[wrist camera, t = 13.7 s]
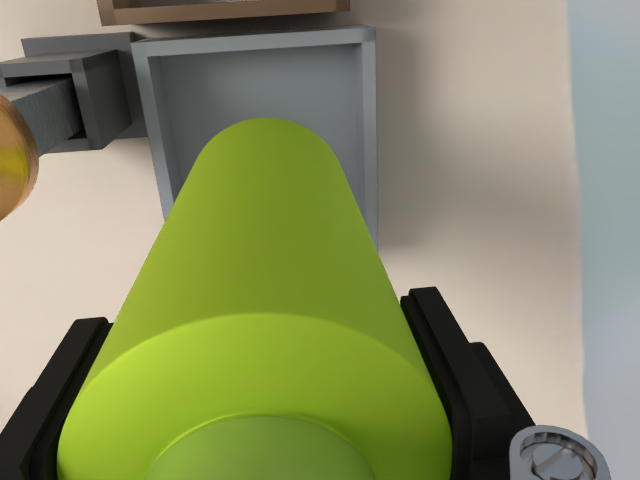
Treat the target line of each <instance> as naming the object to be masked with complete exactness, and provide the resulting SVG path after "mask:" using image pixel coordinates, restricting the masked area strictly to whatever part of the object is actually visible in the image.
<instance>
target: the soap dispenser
mask: <svg viewBox="0 0 640 480" xmlns="http://www.w3.org/2000/svg"><path fill="white" fill-rule="evenodd" d="M451 463H452V436H451V430H450V426H449V422H448V419H447V416H446V413H445V410H444V408H443V405H442V403H441V400H440V398H439V396H438V393H437V391H436V389H435V386H434V384H433V382H432V379H431V377H430V375H429V372H428V370H427V367H426V365H425V363H424V360H423V358H422V356H421V353H420V351H419V349H418V346H417V344H416V342H415V339H414V337H413V334H412V332H411V330H410V327H409V325H408V323H407V320H406V318H405V316H404V313H403V311H402V309H401V306H400V304H399V301H398V299H397V297H396V294H395V292H394V290H393V287H392V285H391V283H390V280H389V278H388V276H387V273H386V271H385V269H384V266H383V264H382V261H381V259H380V257H379V254H378V252H377V250H376V247H375V245H374V243H373V240H372V238H371V236H370V233H369V231H368V228H367V226H366V224H365V221H364V219H363V217H362V214H361V212H360V210H359V207H358V205H357V203H356V200H355V198H354V195H353V193H352V191H351V188H350V186H349V184H348V181H347V179H346V177H345V174H344V172H343V170H342V167H341V165H340V163H339V161H338V159H337V157H336V155H335V154H334V152H333V151H332V150H331V148H330V147H329V146H328V145H327V144H326V142H325V141H324V140H323V139H321V138H320V137H319V136H318V135H317V134H315V133H314V132H312V131H311V130H309V129H308V128H306V127H304V126H302V125H300V124H297V123H294V122H292V121H288V120H284V119H278V118H255V119H249V120H245V121H242V122H239V123H236V124H234V125H232V126H230V127H228V128H226V129H224V130H223V131H221V132H220V133H218V134H217V135H216V136H215V137H213V138H212V139H211V140H210V141H209V142H208V143H207V144H206V146H205V147H204V148H203V149H202V151H201V152H200V154H199V156H198V157H197V159H196V161H195V163H194V165H193V167H192V169H191V171H190V173H189V175H188V177H187V179H186V181H185V183H184V185H183V187H182V189H181V191H180V193H179V195H178V197H177V199H176V201H175V203H174V205H173V207H172V209H171V211H170V213H169V215H168V217H167V219H166V221H165V223H164V225H163V227H162V229H161V231H160V233H159V235H158V237H157V239H156V241H155V243H154V244H153V246H152V248H151V250H150V252H149V254H148V256H147V258H146V260H145V262H144V264H143V266H142V268H141V270H140V272H139V274H138V276H137V278H136V280H135V282H134V284H133V286H132V288H131V290H130V292H129V294H128V296H127V298H126V300H125V302H124V304H123V306H122V308H121V310H120V312H119V314H118V316H117V318H116V320H115V322H114V324H113V326H112V328H111V330H110V332H109V334H108V336H107V338H106V340H105V342H104V344H103V346H102V348H101V350H100V352H99V354H98V356H97V358H96V360H95V362H94V364H93V366H92V368H91V370H90V371H89V373H88V375H87V377H86V379H85V381H84V383H83V385H82V387H81V389H80V391H79V393H78V395H77V397H76V399H75V401H74V403H73V405H72V407H71V409H70V411H69V414H68V416H67V418H66V421H65V423H64V426H63V429H62V432H61V435H60V440H59V445H58V452H57V476H58V480H449V479H450V474H451Z"/></svg>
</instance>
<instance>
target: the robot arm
mask: <svg viewBox="0 0 640 480" xmlns="http://www.w3.org/2000/svg"><path fill="white" fill-rule="evenodd" d="M400 306H401V309H402V311H403V313H404V316H405V318H406V320H407V323H408V325H409V327H410V330H411V332H412V334H413V337H414V339H415V342H416V344H417V346H418V349H419V351H420V353H421V356H422V358H423V360H424V363H425V365H426V367H427V370H428V372H429V375H430V377H431V379H432V382H433V384H434V386H435V389H436V391H437V393H438V396H439V398H440V400H441V403H442V405H443V408H444V410H445V413H446V416H447V419H448V422H449V426H450V430H451V436H452V463H451V474H450V479H449V480H611V476H610V472H609V468H608V465H607V463H606V461H605V459H604V457H603V455H602V454H601V453H600V451H599V450H598V449H597V448H596V447H595V446H594V445H593V444H592V443H591V442H589V441H588V440H586V439H585V438H584V437H582V436H580V435H578V434H576V433H574V432H572V431H570V430H567V429H564V428H560V427H556V426H547V425H537V426H536V425H535V423H534V421H533V420H532V418H531V417H530V415H529V413H528V412H527V410H526V409H525V407H524V406H523V404H522V402H521V401H520V399H519V398H518V396H517V394H516V393H515V391H514V390H513V388H512V387H511V385H510V383H509V382H508V380H507V379H506V377H505V375H504V374H503V372H502V371H501V369H500V368H499V366H498V364H497V363H496V361H495V360H494V358H493V356H492V355H491V353H490V352H489V350H488V349H487V347H486V346H485V345H484V344H483V343H481V342H473V343H469V342H468V340H467V338H466V337H465V335H464V333H463V331H462V330H461V328H460V326H459V325H458V323H457V321H456V320H455V318H454V316H453V314H452V313H451V311H450V309H449V308H448V306H447V304H446V302H445V301H444V299H443V297H442V296H441V294H440V292H439V291H438V289H437V288H436V287H425V288H414V289H410V290H409V295H408V296H402V297H401V300H400ZM113 324H114V323H109V322H108V320H107V319H106V318H105V317H97V318H86V319H77V320H75V321H74V323H73V324H72V326H71V327H70V329H69V330H68V332H67V334H66V335H65V337H64V338H63V340H62V342H61V343H60V345H59V346H58V348H57V349H56V351H55V353H54V354H53V356H52V357H51V359H50V361H49V362H48V364H47V365H46V367H45V369H44V370H43V372H42V373H41V375H40V376H39V378H38V380H37V381H36V383H35V384H34V386H33V387H31V388H30V389H29V391H28V392H27V393H26V395H25V396H24V398H23V399H22V401H21V402H20V404H19V406H18V407H17V409H16V410H15V412H14V413H13V415H12V417H11V418H10V420H9V421H8V423H7V424H6V426H5V428H4V429H3V431H2V432H1V434H0V480H58V476H57V452H58V445H59V440H60V435H61V432H62V429H63V426H64V423H65V421H66V418H67V416H68V414H69V411H70V409H71V407H72V405H73V403H74V401H75V399H76V397H77V395H78V393H79V391H80V389H81V387H82V385H83V383H84V381H85V379H86V377H87V375H88V373H89V371H90V370H91V368H92V366H93V364H94V362H95V360H96V358H97V356H98V354H99V352H100V350H101V348H102V346H103V344H104V342H105V340H106V338H107V336H108V334H109V332H110V330H111V328H112V326H113Z"/></svg>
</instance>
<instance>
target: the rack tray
mask: <svg viewBox="0 0 640 480" xmlns="http://www.w3.org/2000/svg"><path fill="white" fill-rule="evenodd" d="M130 44H131V49H132V54H133V59H134V65H135V70H136V75H137V80H138V85H139V91H140V96H141V101H142V106H143V112H144V117H145V122H146V127H147V132H148V138H149V143H150V148H151V153H152V159H153V164H154V169H155V174H156V180H157V185H158V190H159V195H160V200H161V206H162V211H163V216H164V221H166V219H167V217H168V215H169V213H170V211H171V209H172V207H173V205H174V203H175V201H176V199H177V197H178V195H179V193H180V191H181V189H182V187H183V185H184V183H185V181H186V179H187V177H188V175H189V173H190V171H191V169H192V167H193V165H194V163H195V161H196V159H197V157H198V156H199V154H200V152H201V151H202V149H203V148H204V147H205V146H206V144H207V143H208V142H209V141H210V140H211V139H212V138H213V137H215V136H216V135H217V134H218V133H220V132H221V131H223V130H224V129H226V128H228V127H230V126H232V125H234V124H236V123H239V122H242V121H245V120H249V119H255V118H278V119H284V120H288V121H292V122H294V123H297V124H300V125H302V126H304V127H306V128H308V129H309V130H311V131H312V132H314V133H315V134H317V135H318V136H319V137H320V138H321V139H323V140H324V141H325V142H326V144H327V145H328V146H329V147H330V148H331V150H332V151H333V152H334V154H335V155H336V157H337V159H338V161H339V163H340V165H341V167H342V170H343V172H344V174H345V177H346V179H347V181H348V184H349V186H350V188H351V191H352V193H353V195H354V198H355V200H356V203H357V205H358V207H359V210H360V212H361V214H362V217H363V219H364V221H365V224H366V226H367V228H368V231H369V233H370V236H371V238H372V240H373V243H374V245H375V247H376V250H377V252H378V224H377V139H376V54H375V27H371V26H366V25H351V26H336V27H320V28H304V29H289V30H273V31H257V32H242V33H226V34H210V35H194V36H179V37H163V38H148V39H144V40H140V41H136V42H132V43H130Z"/></svg>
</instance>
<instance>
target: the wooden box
mask: <svg viewBox="0 0 640 480" xmlns="http://www.w3.org/2000/svg"><path fill="white" fill-rule="evenodd" d="M97 4H98V9H99V14H100V19H101V24H102V26H112V25H128V24H144V23H160V22H177V21H193V20H209V19H225V18H241V17H257V16H273V15H289V14H305V13H321V12H338V11H350V0H258V1H241V2H225V3H208V4H192V5H175V6H158V7H142V8H139V5H138V0H97Z"/></svg>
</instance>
